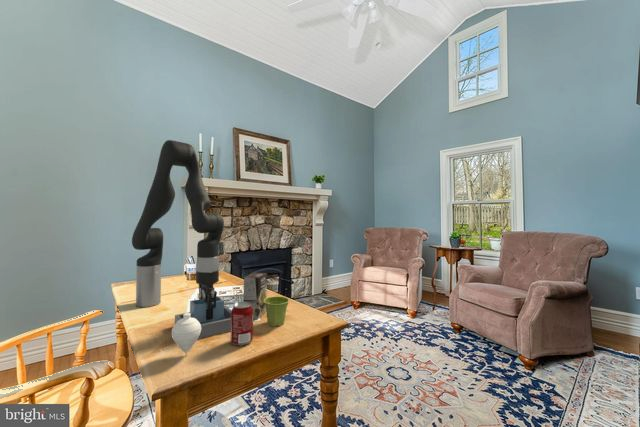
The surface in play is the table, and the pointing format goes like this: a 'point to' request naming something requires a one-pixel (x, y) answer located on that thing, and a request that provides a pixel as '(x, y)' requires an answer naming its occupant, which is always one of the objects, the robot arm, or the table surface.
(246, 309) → the soda can
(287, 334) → the table surface
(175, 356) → the table surface
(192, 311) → the small crate
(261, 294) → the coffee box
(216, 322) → the grey shallow tray
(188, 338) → the spinning top
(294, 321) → the table surface
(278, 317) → the plant pot
